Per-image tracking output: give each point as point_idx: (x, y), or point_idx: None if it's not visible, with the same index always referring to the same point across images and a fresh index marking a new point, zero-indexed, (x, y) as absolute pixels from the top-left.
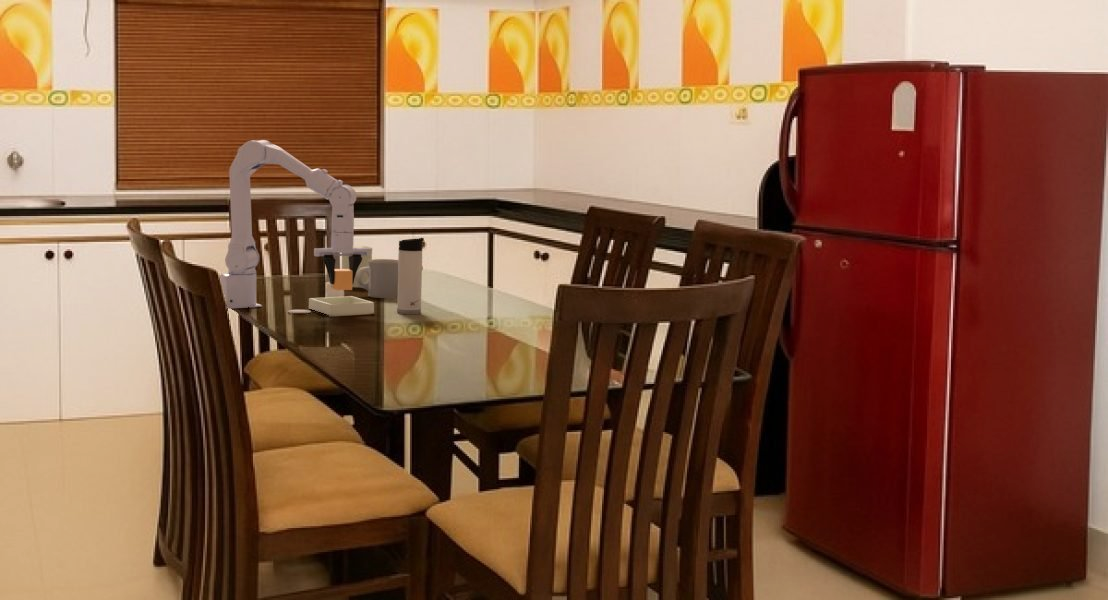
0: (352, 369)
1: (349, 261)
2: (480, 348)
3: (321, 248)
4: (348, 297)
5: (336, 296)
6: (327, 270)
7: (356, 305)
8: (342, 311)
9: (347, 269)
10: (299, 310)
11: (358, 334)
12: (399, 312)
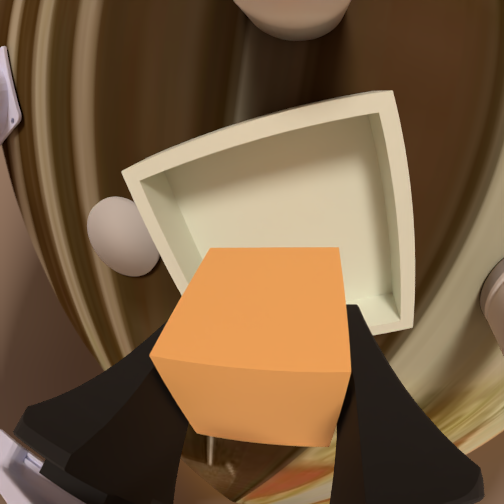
0: (227, 488)
1: (354, 472)
2: None
3: (7, 498)
4: (362, 114)
5: (295, 28)
6: (127, 363)
7: None
8: None
9: (321, 402)
10: (117, 220)
11: (258, 450)
12: (480, 299)
